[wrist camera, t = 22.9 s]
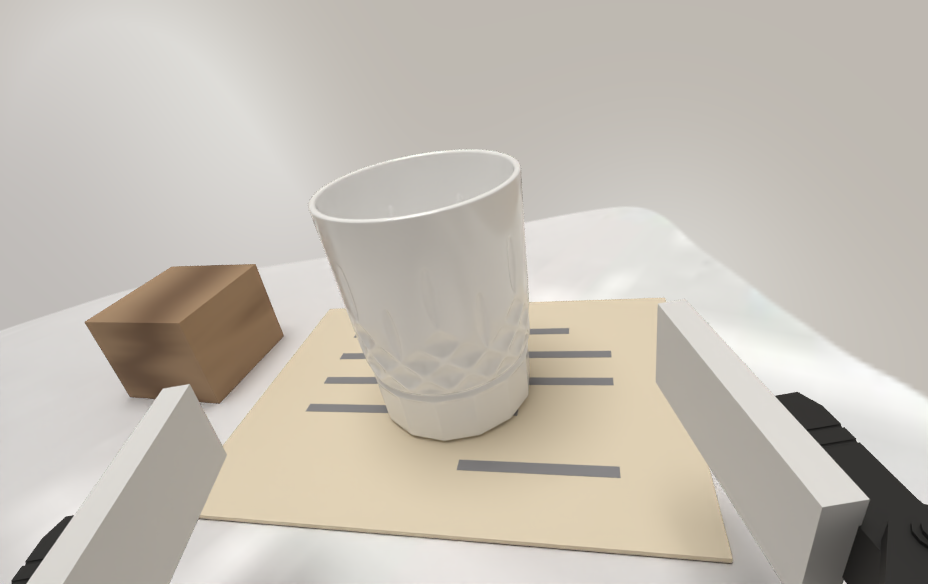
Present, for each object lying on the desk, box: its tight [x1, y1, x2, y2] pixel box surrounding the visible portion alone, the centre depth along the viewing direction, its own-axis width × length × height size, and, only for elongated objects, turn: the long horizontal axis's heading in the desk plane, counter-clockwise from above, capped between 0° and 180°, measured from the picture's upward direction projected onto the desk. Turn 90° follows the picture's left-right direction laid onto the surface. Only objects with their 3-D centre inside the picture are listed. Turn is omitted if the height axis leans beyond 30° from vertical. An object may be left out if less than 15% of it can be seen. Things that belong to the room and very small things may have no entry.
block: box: [85, 264, 284, 403], centre depth 28 cm, size 6×6×5 cm
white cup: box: [308, 149, 530, 441], centre depth 21 cm, size 8×8×10 cm
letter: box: [199, 298, 733, 563], centre depth 24 cm, size 20×15×1 cm
